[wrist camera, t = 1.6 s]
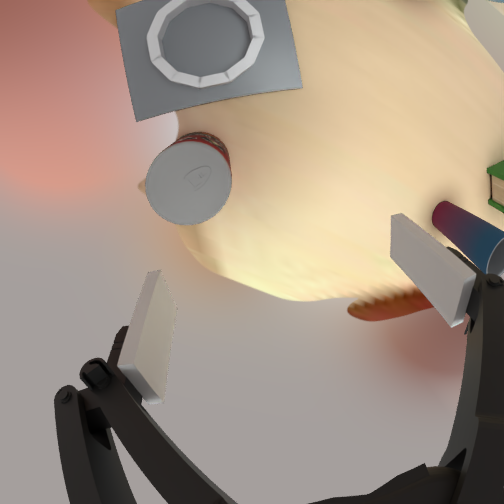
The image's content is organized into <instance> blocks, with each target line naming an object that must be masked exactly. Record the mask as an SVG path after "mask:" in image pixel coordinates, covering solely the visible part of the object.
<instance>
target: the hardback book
mask: <svg viewBox="0 0 504 504" xmlns="http://www.w3.org/2000/svg"><path fill="white" fill-rule="evenodd" d="M487 173H488V174H491V175H492V198H490V199H489V200H488V204H489V205H491V206H493V207H494V208H496V209H498V210H499V211H501V212H503V213H504V160H503V161H501V162H499V163H497V164H495V165H493V166H491V167H489V168H487Z"/></svg>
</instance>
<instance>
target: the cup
mask: <svg viewBox="0 0 504 504" xmlns="http://www.w3.org/2000/svg"><path fill="white" fill-rule="evenodd" d="M432 221H433V225H434V226H435V227H436V228H437V229H438V230H439V231H440V232H442V233H443V234H444V235H445V236H446V237H447V238H448V239H449V240H450V241H451V242H452V243H453V244H455V245H456V246H457V247H458V248H459V249H460V250H461V251H462V252H463V253H464V254H465V255H466V256H467V257H468V258H469V259H470V260H471V261H472V262H473V263H474V264H475V265H476V266H477V267H478V268H479V269H480V270H481V271H482V272H483V273H484V274H488V273H489V274H496V275H498V276H501V275H502V274H503V273H504V232H503V231H502V230H500V229H498V228H497V227H495V226H493V225H491V224H490V223H488V222H486V221H484V220H482V219H481V218H479V217H477V216H475V215H473V214H471V213H469V212H467V211H466V210H464V209H462V208H460V207H458V206H456V205H454V204H452V203H450V202H448V201H443V202H441V203H439V204H438V205H437V206H436V208H435V210H434V212H433V216H432Z"/></svg>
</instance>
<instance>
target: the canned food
mask: <svg viewBox="0 0 504 504" xmlns="http://www.w3.org/2000/svg"><path fill="white" fill-rule="evenodd" d="M231 184H232V174H231V167H230V160H229V154H228V151H227V148H226V147H225V145H224V144H223V143H222V142H221V141H220V140H219V139H218V138H217V137H215V136H214V135H211V134H208V133H203V132H194V133H190V134H187V135H185V136H183V137H181V138H180V139H178V140H177V141H175V142H174V143H173V144H171V145H170V146H168V147H167V148H166V149H165V150H163V151H162V152H161V153H160V154H159V155H158V156H157V157H156V158H155V159H154V161H153V163H152V164H151V166H150V168H149V170H148V173H147V176H146V183H145V186H146V195H147V198H148V201H149V203H150V205H151V207H152V208H153V209H154V211H155V212H156V213H157V214H158V215H159V216H161V217H162V218H163V219H165V220H167V221H169V222H172V223H174V224H179V225H194V224H199V223H202V222H204V221H207V220H208V219H210V218H212V217H213V216H215V215H216V214H217V213H218V212H219V211H220V210H221V209H222V207H223V206H224V205H225V203H226V201H227V199H228V197H229V194H230V190H231Z"/></svg>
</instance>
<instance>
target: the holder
mask: <svg viewBox="0 0 504 504" xmlns="http://www.w3.org/2000/svg"><path fill="white" fill-rule="evenodd" d="M116 18H117V25H118V32H119V38H120V44H121V50H122V56H123V61H124V67H125V72H126V77H127V82H128V87H129V92H130V96H131V101H132V105H133V110H134V114H135V118H136V122H139V121H142V120H145V119H148V118H152V117H155V116H159V115H161V114H165V113H169V112H173V111H177V110H181V109H184V108H188V107H193V106H197V105H201V104H206V103H210V102H215V101H220V100H225V99H230V98H235V97H241V96H247V95H253V94H259V93H266V92H273V91H281V90H290V89H299V88H303V87H302V81H301V75H300V70H299V64H298V59H297V54H296V49H295V44H294V39H293V34H292V29H291V25H290V20H289V16H288V12H287V7H286V3H285V0H143V1H140V2H137V3H134V4H131V5H128V6H125V7H123V8H120V9H118V10H116Z"/></svg>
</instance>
